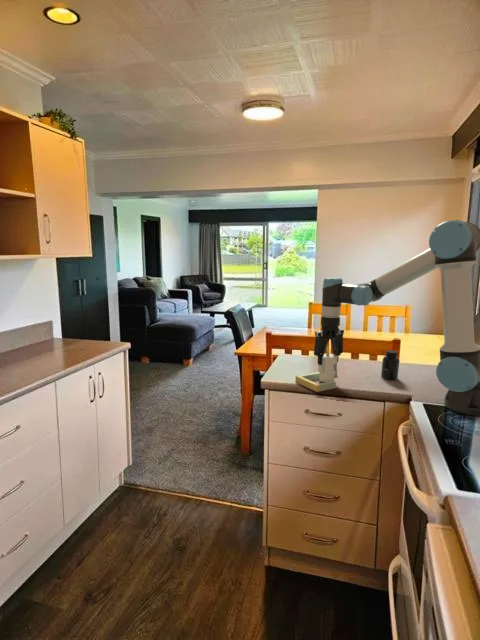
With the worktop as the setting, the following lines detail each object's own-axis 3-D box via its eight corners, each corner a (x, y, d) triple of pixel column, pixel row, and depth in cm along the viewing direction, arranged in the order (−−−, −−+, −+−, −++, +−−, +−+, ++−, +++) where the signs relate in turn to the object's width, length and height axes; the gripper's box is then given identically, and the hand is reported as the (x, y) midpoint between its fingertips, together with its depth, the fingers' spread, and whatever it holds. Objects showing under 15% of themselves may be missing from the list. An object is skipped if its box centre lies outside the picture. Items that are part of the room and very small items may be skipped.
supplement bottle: (379, 379, 175) (382, 352, 172) (382, 374, 180) (384, 348, 178) (396, 381, 171) (399, 354, 169) (398, 377, 177) (401, 350, 175)
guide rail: (357, 383, 168) (357, 377, 168) (316, 391, 157) (317, 385, 157) (334, 374, 180) (334, 369, 179) (295, 381, 169) (295, 375, 169)
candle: (330, 383, 164) (333, 347, 162) (316, 380, 168) (318, 345, 166) (337, 379, 169) (339, 344, 167) (323, 376, 173) (325, 342, 170)
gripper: (341, 313, 172) (338, 365, 176) (305, 316, 162) (303, 371, 166) (354, 315, 165) (351, 370, 169) (318, 319, 156) (315, 376, 160)
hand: (327, 370), depth 168 cm, fingers closed on candle, 6 cm apart
